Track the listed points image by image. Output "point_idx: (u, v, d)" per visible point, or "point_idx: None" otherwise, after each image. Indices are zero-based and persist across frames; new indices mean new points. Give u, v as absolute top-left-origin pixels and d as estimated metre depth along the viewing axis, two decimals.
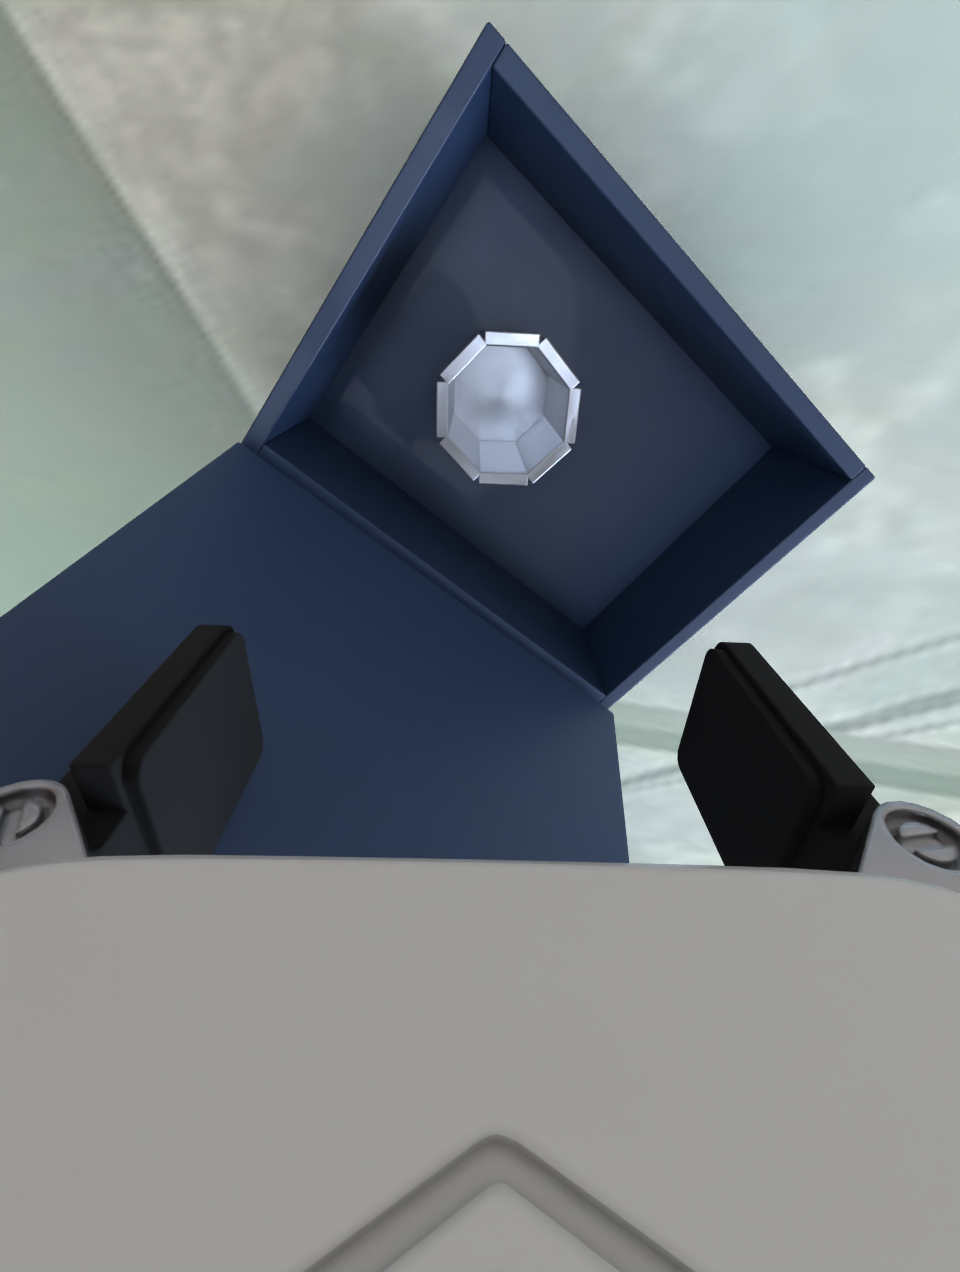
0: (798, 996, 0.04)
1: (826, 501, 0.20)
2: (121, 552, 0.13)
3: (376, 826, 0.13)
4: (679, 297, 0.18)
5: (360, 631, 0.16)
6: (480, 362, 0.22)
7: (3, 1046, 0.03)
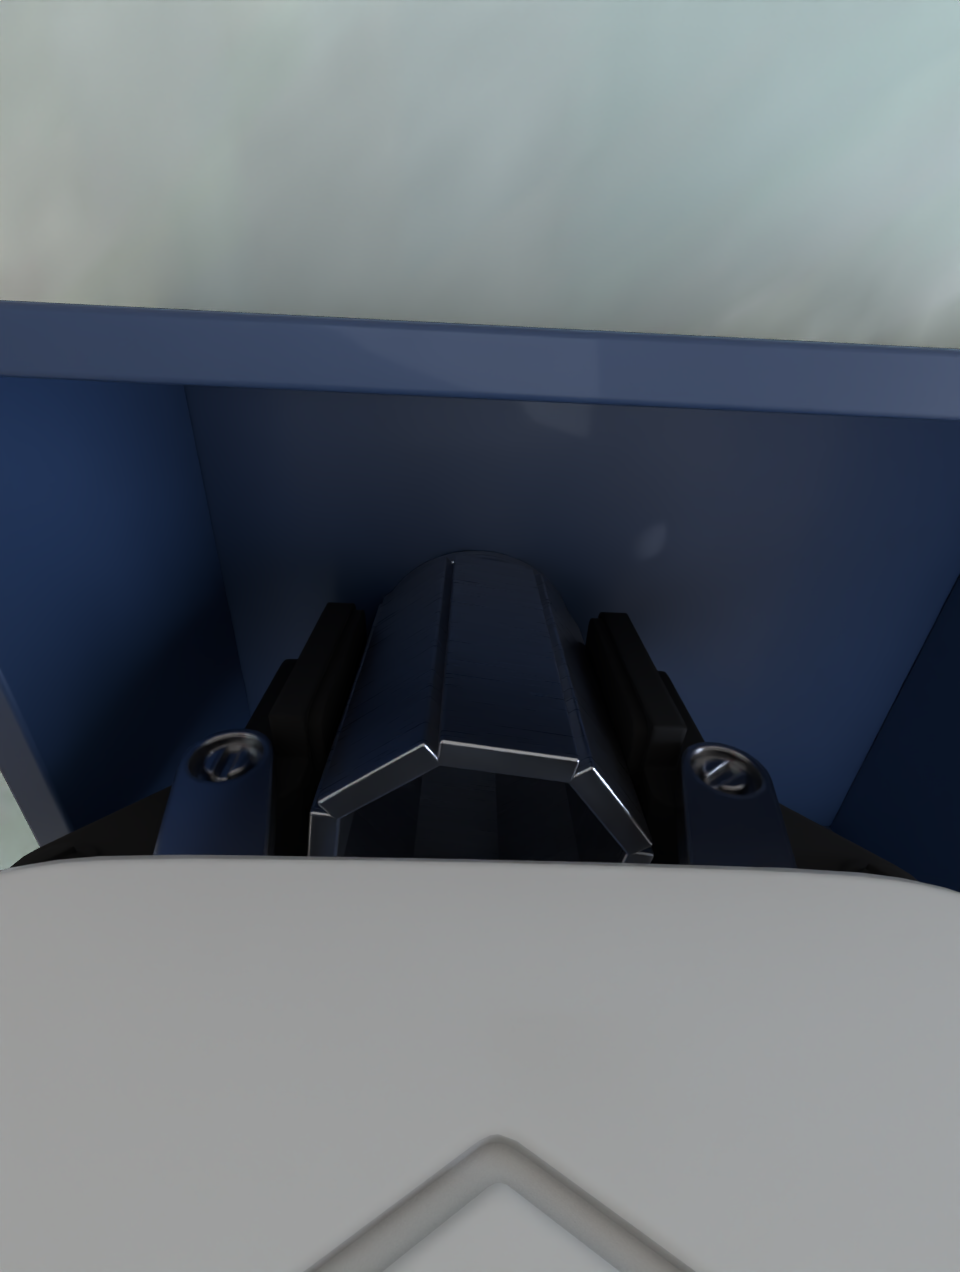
0: (798, 996, 0.04)
1: None
2: None
3: None
4: None
5: None
6: None
7: (3, 1046, 0.03)
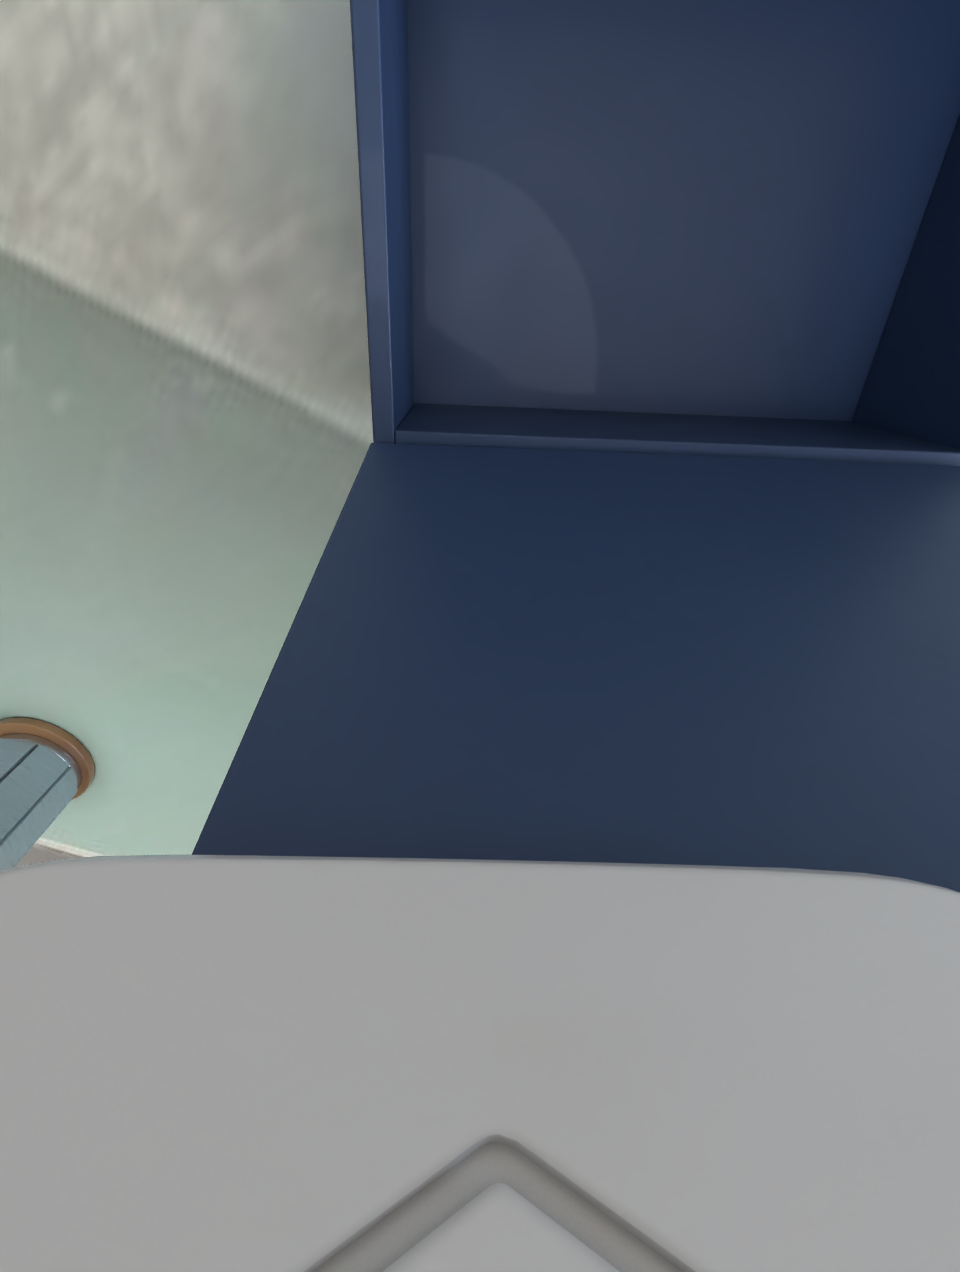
0: (798, 996, 0.04)
1: None
2: (336, 579, 0.10)
3: (909, 729, 0.07)
4: None
5: (640, 529, 0.11)
6: None
7: (2, 1046, 0.03)
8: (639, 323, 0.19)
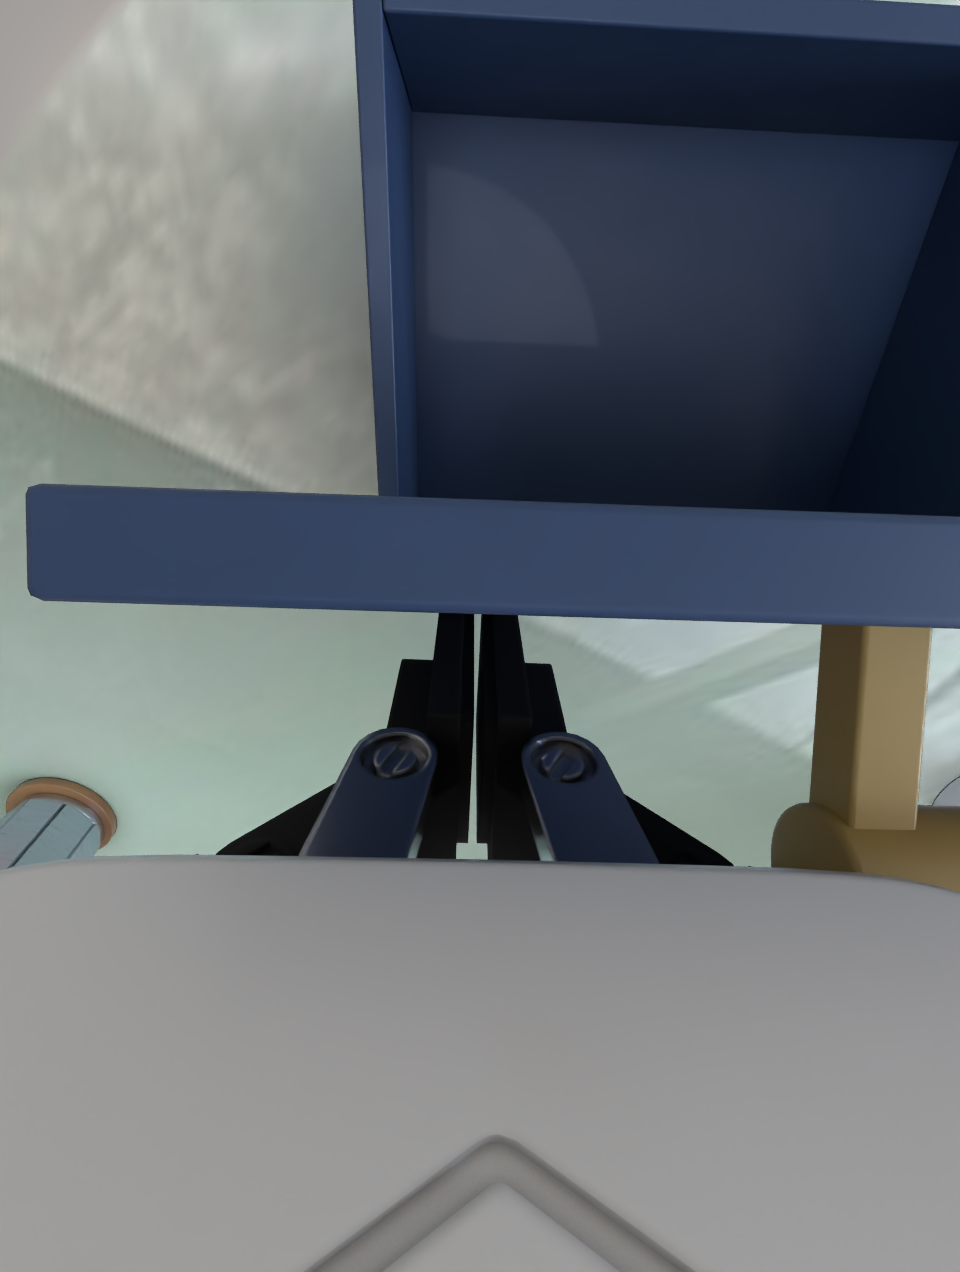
0: (798, 996, 0.04)
1: None
2: None
3: None
4: (745, 56, 0.12)
5: None
6: None
7: (3, 1046, 0.03)
8: (625, 442, 0.21)
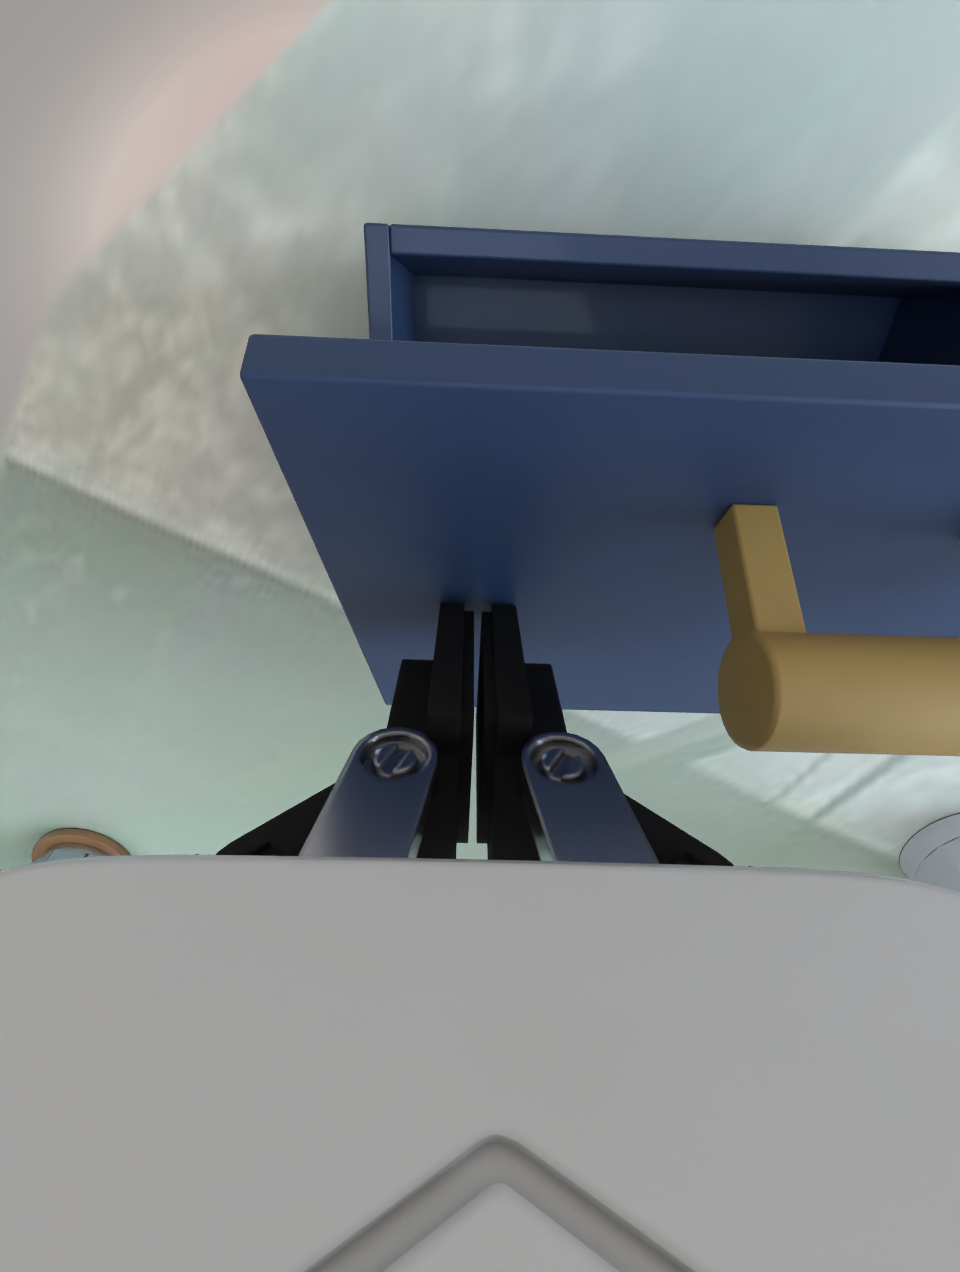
0: (798, 996, 0.04)
1: None
2: None
3: None
4: (700, 274, 0.14)
5: None
6: None
7: (3, 1046, 0.03)
8: None
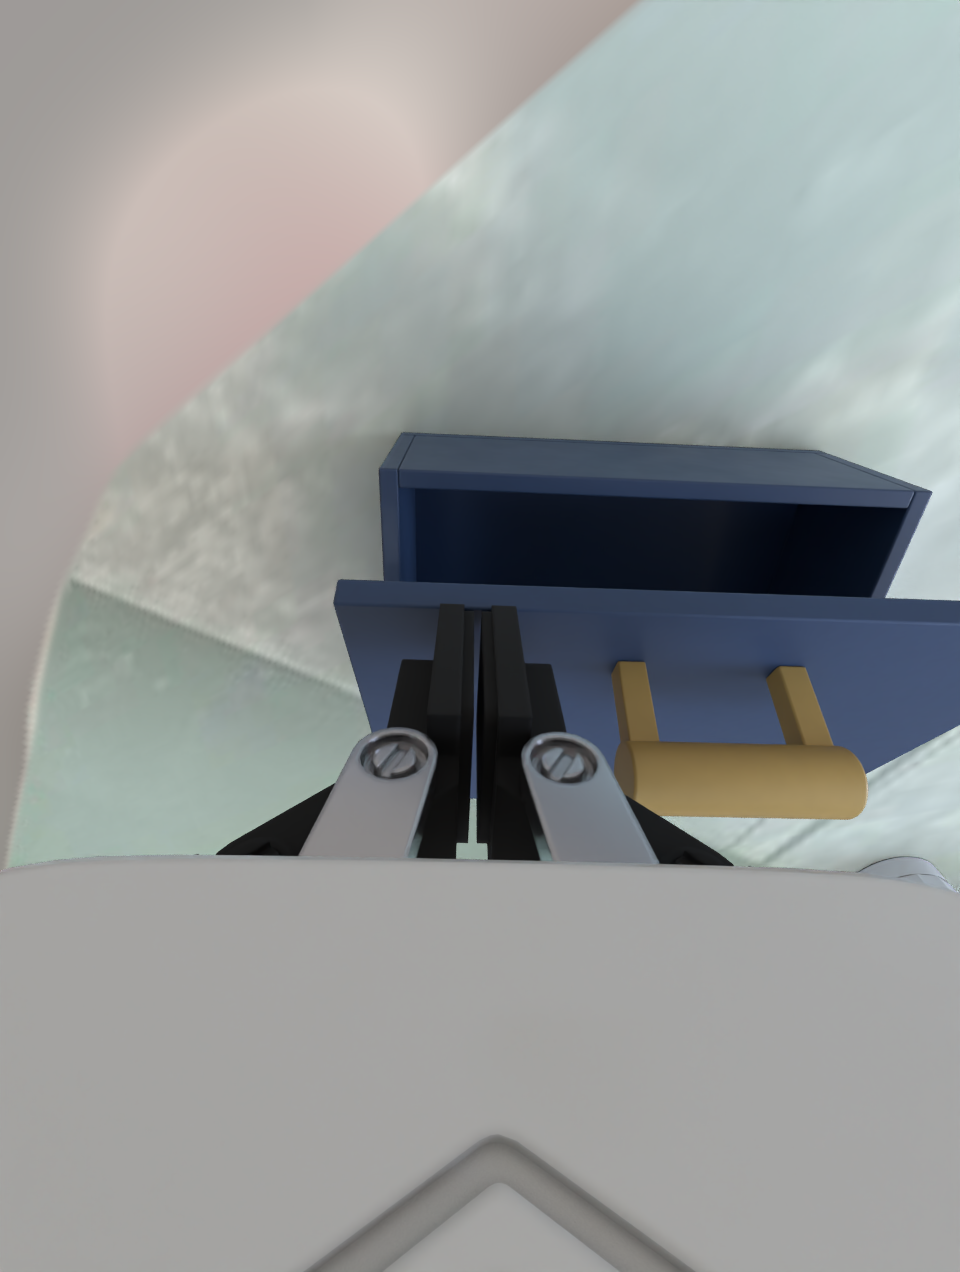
0: (798, 996, 0.04)
1: (894, 536, 0.19)
2: None
3: None
4: None
5: None
6: None
7: (3, 1046, 0.03)
8: None
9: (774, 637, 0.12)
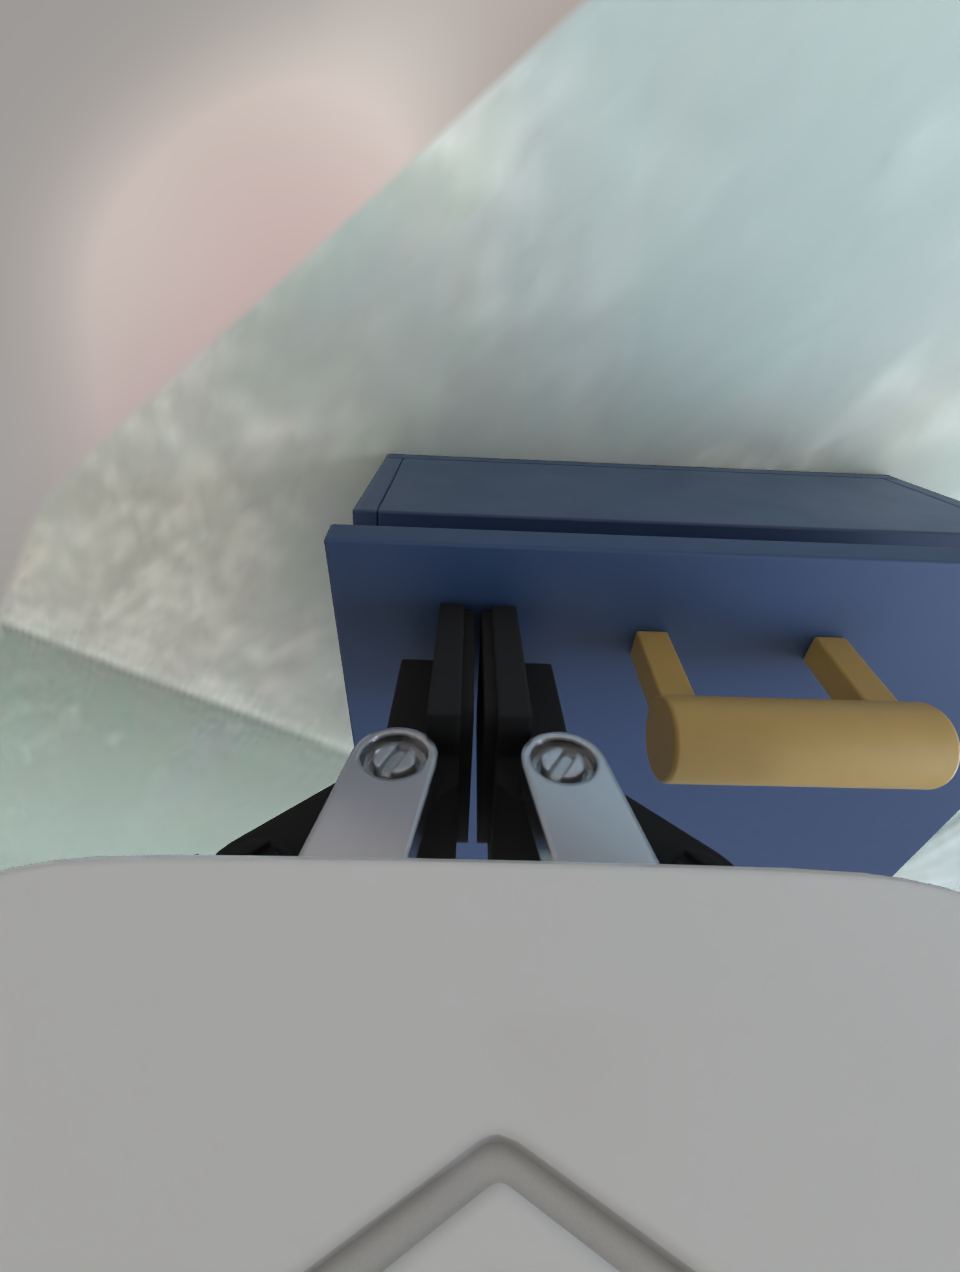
0: (798, 996, 0.04)
1: None
2: None
3: None
4: None
5: None
6: None
7: (3, 1046, 0.03)
8: None
9: (806, 588, 0.11)
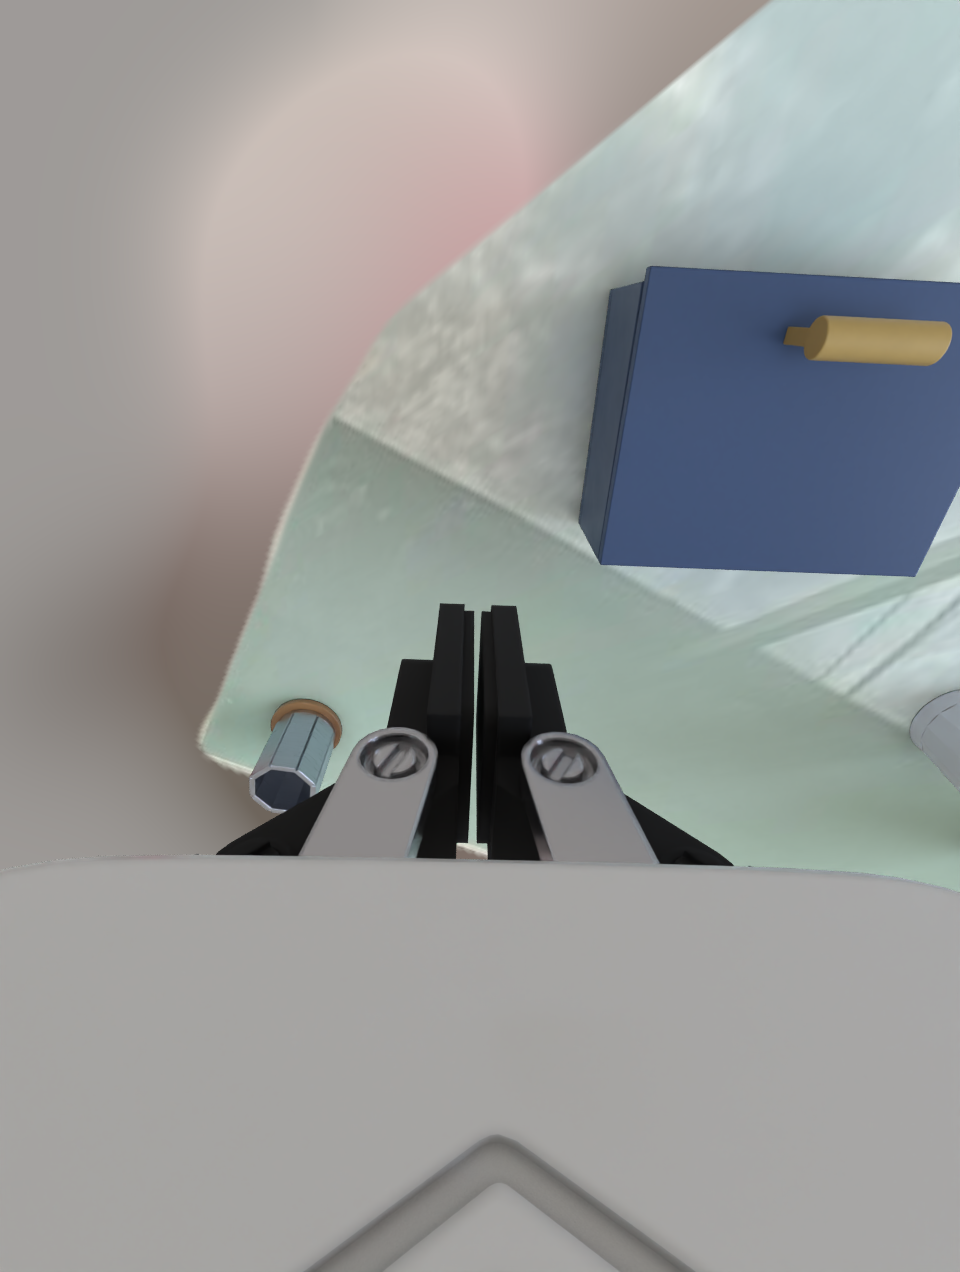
0: (798, 996, 0.04)
1: None
2: None
3: None
4: None
5: None
6: None
7: (2, 1046, 0.03)
8: None
9: (871, 298, 0.24)
